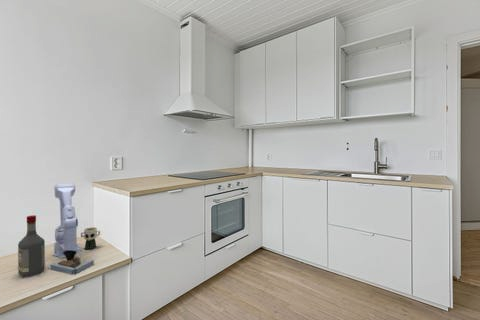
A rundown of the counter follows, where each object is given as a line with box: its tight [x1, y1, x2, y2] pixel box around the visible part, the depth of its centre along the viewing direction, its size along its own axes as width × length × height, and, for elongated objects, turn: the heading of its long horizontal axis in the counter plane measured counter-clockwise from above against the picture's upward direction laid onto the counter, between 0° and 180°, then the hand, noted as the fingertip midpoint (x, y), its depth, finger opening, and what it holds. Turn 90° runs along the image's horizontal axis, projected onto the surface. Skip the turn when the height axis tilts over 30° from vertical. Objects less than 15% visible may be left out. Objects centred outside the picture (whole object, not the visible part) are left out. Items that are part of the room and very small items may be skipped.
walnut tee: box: [57, 256, 81, 268], centre depth 128 cm, size 8×9×4 cm
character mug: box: [80, 226, 101, 250], centre depth 152 cm, size 11×7×13 cm, turn 113°
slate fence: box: [49, 259, 95, 275], centre depth 128 cm, size 17×12×2 cm
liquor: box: [17, 214, 46, 278], centre depth 120 cm, size 9×9×30 cm
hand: (70, 262), depth 130 cm, fingers closed
